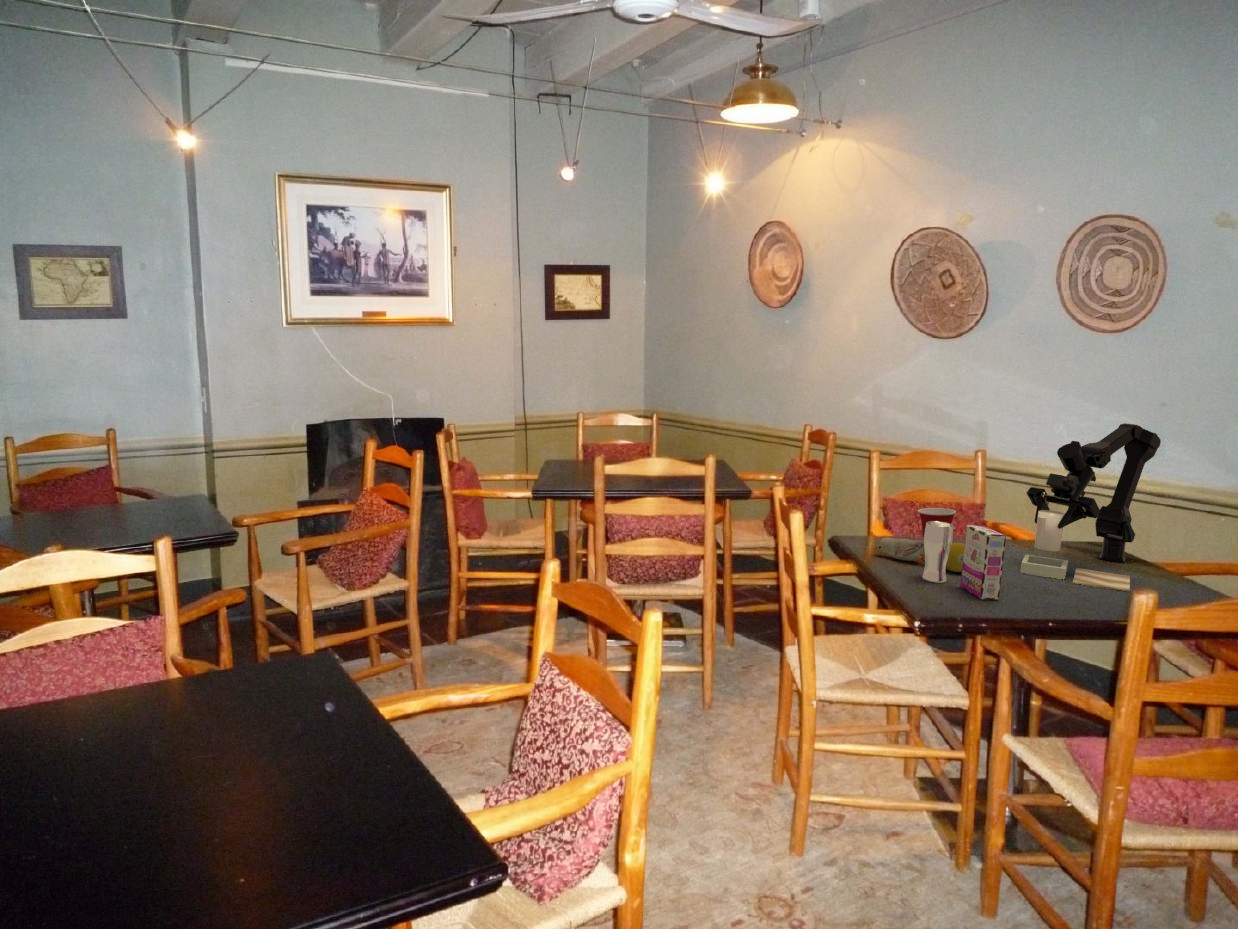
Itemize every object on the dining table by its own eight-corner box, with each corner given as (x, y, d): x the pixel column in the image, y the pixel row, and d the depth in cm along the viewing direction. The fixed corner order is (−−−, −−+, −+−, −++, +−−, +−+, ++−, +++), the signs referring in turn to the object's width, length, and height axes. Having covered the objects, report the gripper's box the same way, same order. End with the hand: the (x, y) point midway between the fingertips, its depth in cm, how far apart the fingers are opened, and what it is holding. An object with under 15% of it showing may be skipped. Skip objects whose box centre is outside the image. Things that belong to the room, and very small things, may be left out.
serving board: (1075, 570, 242) (1076, 568, 242) (1129, 578, 235) (1129, 576, 235) (1072, 583, 228) (1072, 581, 228) (1129, 592, 222) (1129, 590, 221)
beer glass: (944, 576, 230) (949, 521, 228) (951, 584, 224) (957, 527, 221) (917, 575, 231) (922, 520, 229) (923, 582, 224) (929, 526, 222)
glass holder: (1024, 564, 246) (1025, 554, 245) (1066, 571, 240) (1068, 560, 240) (1020, 573, 237) (1021, 562, 236) (1064, 580, 231) (1065, 569, 231)
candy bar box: (1000, 600, 211) (1007, 535, 208) (980, 600, 211) (987, 534, 208) (978, 586, 222) (984, 524, 219) (959, 586, 222) (965, 524, 219)
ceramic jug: (1043, 544, 242) (1047, 509, 240) (1065, 549, 236) (1069, 513, 235) (1026, 547, 238) (1029, 511, 236) (1047, 552, 232) (1051, 516, 231)
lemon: (935, 572, 234) (938, 543, 233) (938, 565, 241) (940, 537, 240) (978, 578, 230) (981, 549, 229) (980, 571, 237) (983, 543, 236)
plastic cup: (920, 542, 269) (924, 504, 267) (956, 548, 262) (960, 509, 261) (909, 548, 260) (913, 509, 258) (946, 555, 254) (950, 515, 252)
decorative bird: (880, 554, 253) (882, 529, 252) (934, 565, 242) (937, 539, 241) (872, 557, 249) (874, 532, 248) (926, 569, 238) (929, 542, 237)
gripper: (1034, 458, 244) (1005, 499, 240) (1099, 468, 228) (1069, 513, 224) (1047, 484, 249) (1020, 524, 245) (1112, 495, 233) (1083, 539, 229)
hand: (1046, 525), depth 236 cm, fingers closed on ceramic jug, 6 cm apart
